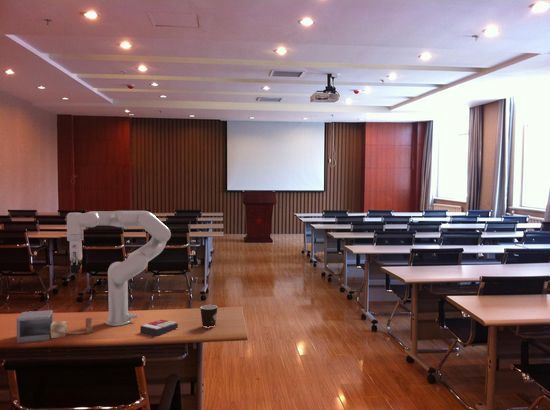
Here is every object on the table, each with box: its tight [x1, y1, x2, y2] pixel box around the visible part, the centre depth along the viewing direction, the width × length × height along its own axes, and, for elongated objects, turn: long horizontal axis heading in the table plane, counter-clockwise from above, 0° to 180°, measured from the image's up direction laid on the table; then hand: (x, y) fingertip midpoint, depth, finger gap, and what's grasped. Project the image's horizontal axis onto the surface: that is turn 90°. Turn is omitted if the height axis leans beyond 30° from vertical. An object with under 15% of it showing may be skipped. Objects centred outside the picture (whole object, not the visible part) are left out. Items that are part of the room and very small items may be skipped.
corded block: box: [50, 317, 94, 339], centre depth 223 cm, size 18×6×7 cm, turn 106°
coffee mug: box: [199, 304, 218, 327], centre depth 237 cm, size 12×9×10 cm
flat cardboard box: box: [139, 319, 179, 338], centre depth 230 cm, size 11×4×15 cm
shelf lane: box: [15, 309, 54, 344], centre depth 218 cm, size 13×12×11 cm
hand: (75, 271), depth 234 cm, fingers open, 9 cm apart
